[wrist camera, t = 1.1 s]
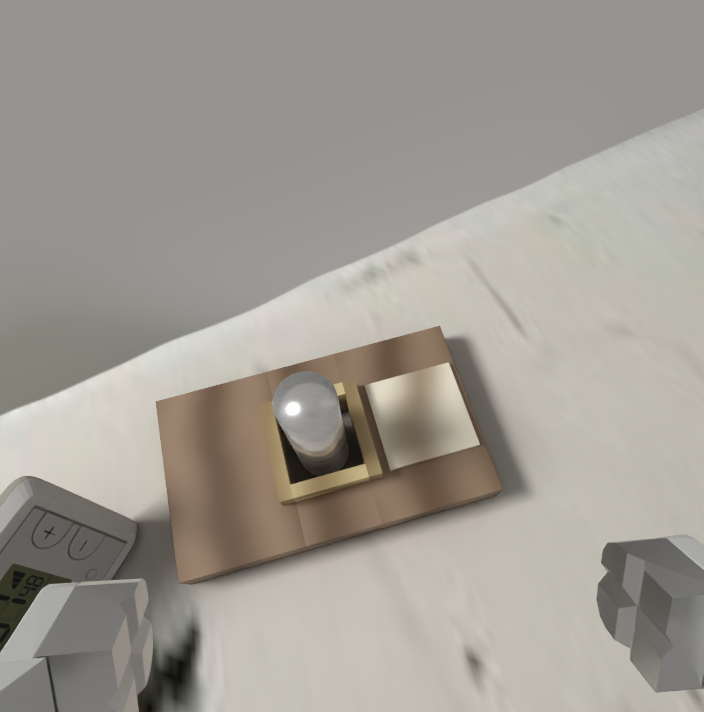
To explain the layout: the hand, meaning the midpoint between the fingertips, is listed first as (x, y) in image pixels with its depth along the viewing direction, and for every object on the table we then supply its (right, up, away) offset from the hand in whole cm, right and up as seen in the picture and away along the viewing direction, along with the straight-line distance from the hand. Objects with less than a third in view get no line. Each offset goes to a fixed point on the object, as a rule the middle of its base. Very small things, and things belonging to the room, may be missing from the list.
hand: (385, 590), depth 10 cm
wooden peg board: (-3, -4, +34) cm, 35 cm away
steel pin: (-3, -4, +34) cm, 35 cm away
